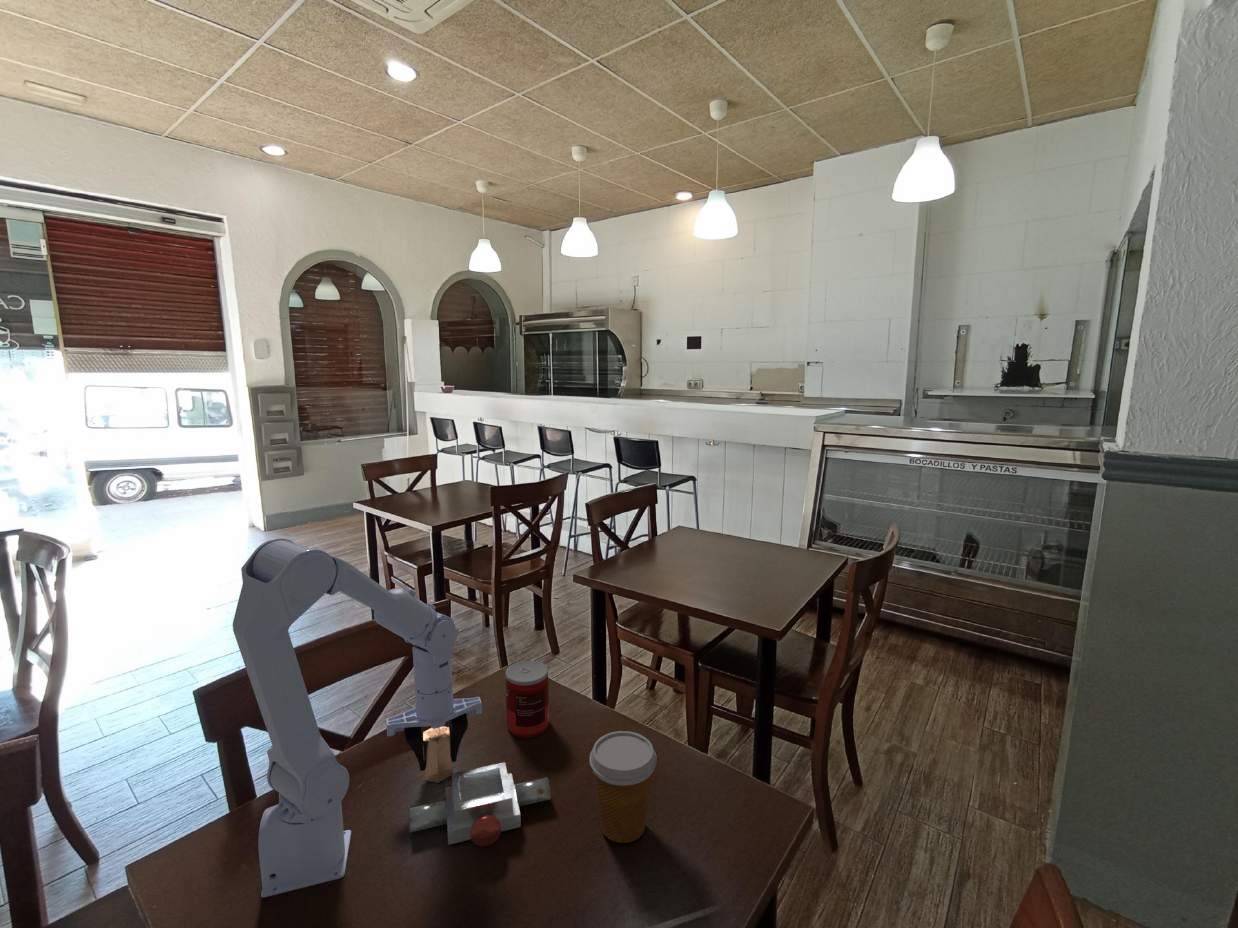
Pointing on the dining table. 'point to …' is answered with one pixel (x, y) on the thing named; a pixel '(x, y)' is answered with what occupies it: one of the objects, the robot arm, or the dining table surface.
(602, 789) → the disposable coffee cup
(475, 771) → the valve body
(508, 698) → the canned food
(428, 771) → the wooden hexagonal prism
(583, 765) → the dining table surface
